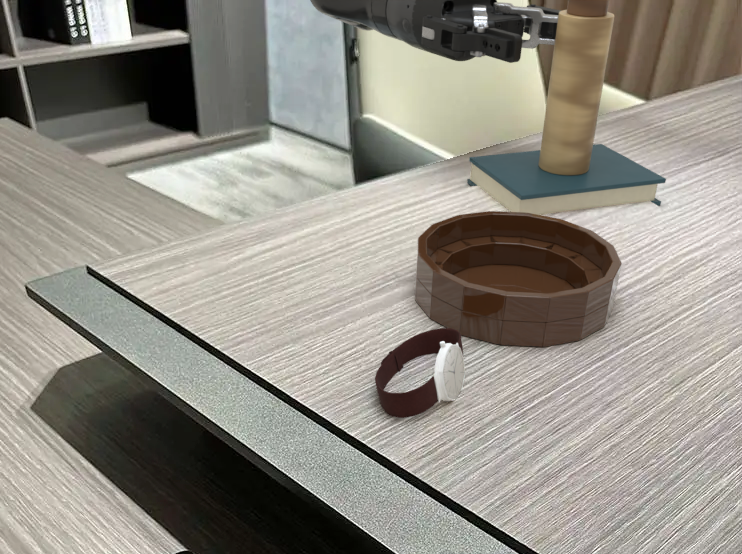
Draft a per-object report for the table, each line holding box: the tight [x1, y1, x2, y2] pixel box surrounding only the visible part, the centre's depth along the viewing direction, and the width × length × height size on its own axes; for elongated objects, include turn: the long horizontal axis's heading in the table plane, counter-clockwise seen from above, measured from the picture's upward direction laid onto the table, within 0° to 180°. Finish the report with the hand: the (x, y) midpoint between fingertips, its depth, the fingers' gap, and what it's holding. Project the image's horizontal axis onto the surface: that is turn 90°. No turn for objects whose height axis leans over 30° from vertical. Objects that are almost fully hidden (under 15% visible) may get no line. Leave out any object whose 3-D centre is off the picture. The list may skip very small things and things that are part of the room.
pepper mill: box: [539, 0, 615, 175], centre depth 69 cm, size 4×4×15 cm
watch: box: [374, 327, 466, 419], centre depth 46 cm, size 8×5×4 cm, turn 153°
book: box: [466, 143, 667, 216], centre depth 73 cm, size 14×10×2 cm
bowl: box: [414, 210, 623, 348], centre depth 55 cm, size 13×13×4 cm
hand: (556, 44), depth 70 cm, fingers open, 8 cm apart
